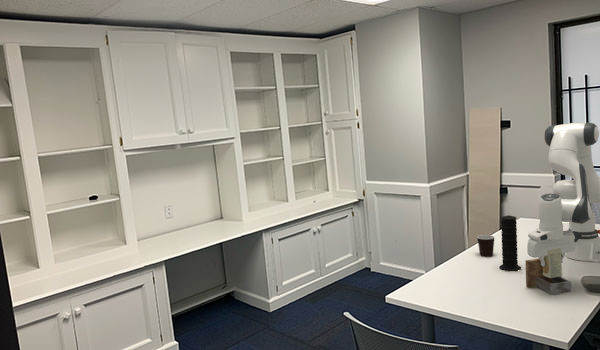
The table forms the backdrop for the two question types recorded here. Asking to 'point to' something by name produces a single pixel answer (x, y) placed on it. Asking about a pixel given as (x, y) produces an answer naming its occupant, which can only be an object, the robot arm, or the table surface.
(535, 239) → the robot arm
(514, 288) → the table surface
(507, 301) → the table surface
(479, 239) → the coffee mug
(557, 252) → the skincare box
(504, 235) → the handle grip
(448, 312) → the table surface
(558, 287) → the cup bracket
